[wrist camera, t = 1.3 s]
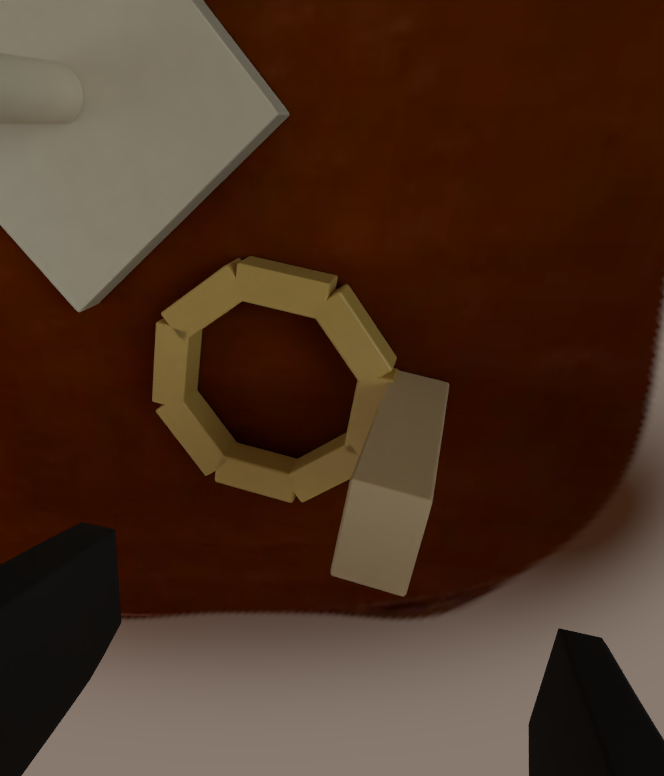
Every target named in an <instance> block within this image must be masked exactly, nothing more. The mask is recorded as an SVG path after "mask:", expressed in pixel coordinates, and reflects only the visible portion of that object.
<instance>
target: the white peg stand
mask: <svg viewBox="0 0 664 776" xmlns="http://www.w3.org/2000/svg"><path fill="white" fill-rule="evenodd" d="M289 115H290V114H289V112H288V111H287V109H286V108H285V107H284V105H283V104H282V103H281V101H280V100H279V99H278V98H277V96H276V95H275V94H274V92H273V91H272V90H271V88H270V87H269V86H268V84H267V83H266V82H265V81H264V79H263V78H262V77H261V75H260V74H259V73H258V71H257V70H256V69H255V68H254V66H253V65H252V64H251V62H250V61H249V60H248V58H247V57H246V56H245V54H244V53H243V52H242V51H241V49H240V48H239V47H238V45H237V44H236V43H235V41H234V40H233V39H232V37H231V36H230V35H229V34H228V32H227V31H226V30H225V28H224V27H223V26H222V24H221V23H220V22H219V21H218V19H217V18H216V17H215V15H214V14H213V13H212V11H211V10H210V9H209V7H208V6H207V5H206V4H205V2H204V1H203V0H0V225H1V226H2V228H3V229H4V230H5V231H6V232H7V233H8V234H9V235H10V237H11V238H12V239H13V240H14V241H15V242H16V243H17V244H18V245H19V247H20V248H21V249H22V250H23V251H24V252H25V253H26V254H27V256H28V257H29V258H30V259H31V260H32V261H33V262H34V263H35V265H36V266H37V267H38V268H39V269H40V270H41V271H42V272H43V274H44V275H45V276H46V277H47V278H48V279H49V280H50V281H51V283H52V284H53V285H54V286H55V287H56V288H57V289H58V290H59V292H60V293H61V294H62V295H63V296H64V297H65V298H66V299H67V301H68V302H69V303H70V304H71V305H72V306H73V307H74V308H75V310H76V311H77V312H81V311H84V310H86V309H88V308H90V307H92V306H94V305H97V304H98V303H99V302H100V301H101V300H102V299H103V298H104V297H105V296H107V295H108V294H109V293H110V292H111V291H112V290H113V289H114V288H115V287H116V286H117V285H118V284H119V283H120V282H121V281H122V280H123V279H124V278H125V277H126V276H127V275H128V274H129V273H130V272H131V271H132V270H133V269H134V268H135V267H136V266H137V265H138V264H139V263H140V262H141V261H142V260H143V259H144V258H145V257H146V256H147V255H148V254H149V253H150V252H151V251H152V250H153V249H154V248H155V247H156V246H157V245H158V244H159V243H160V242H161V241H162V240H163V239H164V238H166V237H167V236H168V235H169V234H170V233H171V232H172V231H173V230H174V229H175V228H176V227H177V226H178V225H179V224H180V223H181V222H182V221H183V220H184V219H185V218H186V217H187V216H188V215H189V214H190V213H191V212H192V211H193V210H194V209H195V208H196V207H197V206H198V205H199V204H200V203H201V202H202V201H203V200H204V199H205V198H206V197H207V196H208V195H209V194H210V193H211V192H212V191H213V190H214V189H215V188H216V187H217V186H218V185H219V184H220V183H221V182H222V181H223V180H224V179H226V178H227V177H228V176H229V175H230V174H231V173H232V172H233V171H234V170H235V169H236V168H237V167H238V166H239V165H240V164H241V163H242V162H243V161H244V160H245V159H246V158H247V157H248V156H249V155H250V154H251V153H252V152H253V151H254V150H255V149H256V148H257V147H258V146H259V145H260V144H261V143H262V142H263V141H264V140H265V139H266V138H267V137H268V136H269V135H270V134H271V133H272V132H273V131H274V130H275V129H276V128H277V127H278V126H279V125H280V124H281V123H282V122H283V121H285V120H286V119H287V118H288V117H289Z"/></svg>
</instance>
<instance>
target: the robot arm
mask: <svg viewBox="0 0 664 776" xmlns="http://www.w3.org/2000/svg"><path fill="white" fill-rule="evenodd" d="M120 624H121V612H120V597H119V582H118V567H117V552H116V538H115V530H114V529H110V528H105V527H101V526H96V525H92V524H87V523H83V522H82V523H80V524H78V525H76V526H73V527H71V528H69V529H67V530H65V531H63V532H61V533H59V534H57V535H56V536H54V537H52V538H50V539H48V540H46V541H44V542H42V543H40V544H38V545H36V546H35V547H33V548H31V549H29V550H27V551H25V552H23V553H22V554H20V555H18V556H16V557H14V558H12V559H10V560H8V561H7V562H5V563H3V564H1V565H0V776H21V775H22V774H23V773H24V771H25V770H26V769H27V767H28V766H29V764H30V763H31V762H32V760H33V759H34V757H35V756H36V755H37V753H38V752H39V751H40V749H41V748H42V746H43V745H44V744H45V742H46V741H47V739H48V738H49V737H50V735H51V734H52V733H53V731H54V729H55V728H56V727H57V726H58V724H59V723H60V721H61V720H62V718H63V717H64V716H65V714H66V713H67V711H68V710H69V709H70V707H71V706H72V704H73V703H74V702H75V700H76V699H77V697H78V696H79V694H80V693H81V692H82V690H83V689H84V687H85V686H86V684H87V683H88V682H89V680H90V678H91V677H92V675H93V673H94V671H95V670H96V668H97V666H98V664H99V663H100V661H101V659H102V657H103V656H104V654H105V652H106V650H107V648H108V646H109V644H110V643H111V641H112V639H113V637H114V635H115V633H116V631H117V629H118V628H119V626H120ZM529 776H664V740H663V738H662V736H661V735H660V733H659V732H658V730H657V728H656V727H655V725H654V724H653V722H652V721H651V719H650V717H649V715H648V714H647V712H646V711H645V709H644V707H643V706H642V704H641V702H640V701H639V699H638V697H637V696H636V694H635V692H634V690H633V689H632V687H631V685H630V684H629V682H628V680H627V679H626V677H625V675H624V674H623V672H622V670H621V669H620V667H619V665H618V663H617V662H616V660H615V658H614V657H613V655H612V653H611V652H610V650H609V648H608V647H607V645H606V643H605V642H604V641H603V639H602V638H600V637H595V636H591V635H586V634H582V633H577V632H573V631H568V630H564V629H558V632H557V635H556V639H555V642H554V645H553V648H552V651H551V654H550V658H549V661H548V664H547V667H546V670H545V674H544V677H543V680H542V683H541V686H540V690H539V693H538V696H537V699H536V702H535V706H534V709H533V712H532V715H531V718H530V722H529Z"/></svg>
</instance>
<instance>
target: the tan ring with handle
mask: <svg viewBox="0 0 664 776" xmlns="http://www.w3.org/2000/svg"><path fill="white" fill-rule="evenodd" d="M337 279H338V277H337V276H336V275H332V274H328V273H324V272H319V271H315V270H310V269H306V268H302V267H297V266H293V265H288V264H284V263H279V262H275V261H271V260H266V259H262V258H257V257H253V256H249V257H248V258H246V259H244V260H242V261H241V259H240V258H238V259H236V260H234V261H232V262H230V263H229V264H227V265H225V266H224V267H222V268H221V269H220V270H218V271H217V272H215V273H214V274H213V275H211V276H210V277H209V278H207V279H206V280H205V281H203V282H202V283H201V284H199V285H198V286H196V287H195V288H194V289H192V290H191V291H190V292H188V293H187V294H186V295H184V296H183V297H182V298H180V299H179V300H177V301H176V302H175V303H173V304H172V305H171V306H169V307H168V308H167V309H165V310H164V311H163V312H161V315H162V316H163V319H161V320H159V321H158V322H156V333H155V353H154V372H153V392H152V401H153V402H156V403H160V404H162V405H161V406H160V407H159V408H158V409H157V410H156V413H157V414H158V415H159V416H160V418H161V419H162V420H163V422H164V423H165V424H166V425H167V427H168V428H169V429H170V431H171V432H172V433H173V434H174V436H175V437H176V438H177V440H178V441H179V442H180V443H181V445H182V446H183V447H184V449H185V450H186V451H187V453H188V454H189V455H190V456H191V458H192V459H193V460H194V462H195V463H196V464H197V465H198V467H199V468H200V469H201V471H202V472H203V473H204V474H205V475H206V476H207V475H209V474H211V473H212V472H214V471H216V473H215V481H216V482H218V483H222V484H225V485H229V486H232V487H236V488H240V489H243V490H247V491H250V492H254V493H257V494H261V495H264V496H268V497H271V498H275V499H279V500H282V501H286V502H289V503H292V502H293V501H294V499H295V497H296V496H297V497H298V498H299V500H300V501H301V502H305V501H307V500H309V499H311V498H313V497H315V496H317V495H319V494H321V493H323V492H325V491H327V490H329V489H331V488H333V487H335V486H337V485H339V484H341V483H343V482H345V481H347V480H349V479H350V482H349V487H348V492H347V496H346V501H345V506H344V510H343V515H342V520H341V524H340V529H339V534H338V538H337V543H336V547H335V552H334V557H333V561H332V566H331V571H330V572H331V575H332V576H335V577H338V578H342V579H345V580H349V581H352V582H355V583H359V584H362V585H366V586H369V587H372V588H376V589H379V590H382V591H386V592H389V593H393V594H396V595H399V596H405V595H406V593H407V590H408V586H409V583H410V579H411V576H412V572H413V569H414V565H415V562H416V558H417V555H418V551H419V548H420V544H421V541H422V537H423V534H424V530H425V527H426V523H427V520H428V516H429V513H430V509H431V506H432V502H433V495H434V488H435V481H436V474H437V467H438V460H439V454H440V447H441V440H442V433H443V426H444V419H445V412H446V405H447V398H448V391H449V383H448V382H444V381H440V380H436V379H432V378H427V377H423V376H419V375H415V374H411V373H407V372H403V371H399V370H398V369H397V368H393V367H394V365H395V362H396V359H397V358H396V355H395V354H394V352H393V351H392V349H391V348H390V346H389V345H388V343H387V342H386V340H385V339H384V337H383V336H382V334H381V333H380V331H379V330H378V328H377V327H376V325H375V324H374V322H373V321H372V319H371V318H370V316H369V315H368V313H367V312H366V310H365V309H364V307H363V306H362V304H361V303H360V301H359V300H358V298H357V297H356V295H355V294H354V292H353V291H352V289H351V288H350V286H349V285H348V284H344V285H342V286H341V287H339V288H338V289H336V285H337ZM242 301H244V302H248V303H252V304H256V305H260V306H265V307H269V308H273V309H277V310H281V311H286V312H290V313H294V314H298V315H302V316H307V317H311V318H315V319H316V320H317V322H318V323H319V325H320V326H321V327H322V329H323V330H324V332H325V333H326V335H327V336H328V338H329V339H330V341H331V342H332V343H333V345H334V346H335V348H336V349H337V351H338V352H339V354H340V355H341V357H342V358H343V359H344V361H345V362H346V364H347V365H348V367H349V368H350V370H351V371H352V373H353V374H354V375H355V377H356V378H357V384H356V389H355V394H354V399H353V404H352V409H351V414H350V419H349V423H348V428H347V433H345V434H343V435H341V436H339V437H337V438H335V439H334V440H332V441H330V442H328V443H326V444H324V445H322V446H320V447H319V448H317V449H315V450H313V451H311V452H309V453H307V454H305V455H304V456H302V457H300V458H298V459H296V458H293V457H289V456H285V455H282V454H278V453H274V452H271V451H267V450H263V449H260V448H256V447H252V446H249V445H245V444H241V443H238V442H236V441H235V439H234V438H233V437H232V435H231V434H230V433H229V431H228V430H227V429H226V427H225V426H224V425H223V423H222V422H221V421H220V419H219V418H218V417H217V415H216V414H215V413H214V411H213V410H212V409H211V407H210V406H209V405H208V404H207V402H206V401H205V400H204V398H203V397H202V396H201V394H200V393H199V392H198V390H197V387H198V375H199V363H200V352H201V340H202V329H203V328H205V327H206V326H208V325H209V324H210V323H212V322H213V321H215V320H216V319H218V318H219V317H221V316H222V315H223V314H225V313H226V312H228V311H229V310H231V309H232V308H233V307H235V306H236V305H238V304H239V303H241V302H242Z"/></svg>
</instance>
